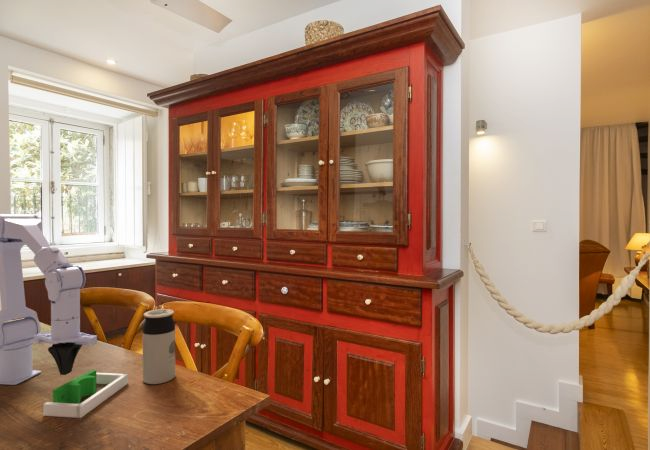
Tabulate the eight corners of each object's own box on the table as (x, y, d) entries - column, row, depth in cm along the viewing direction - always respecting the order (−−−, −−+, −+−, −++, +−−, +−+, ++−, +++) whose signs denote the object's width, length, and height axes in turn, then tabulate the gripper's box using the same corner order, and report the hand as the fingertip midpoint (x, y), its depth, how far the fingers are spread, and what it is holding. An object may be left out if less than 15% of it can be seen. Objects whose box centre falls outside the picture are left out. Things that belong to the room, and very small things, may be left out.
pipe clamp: (66, 411, 84) (66, 391, 83) (52, 409, 84) (52, 389, 84) (105, 388, 95) (105, 370, 94) (92, 387, 95) (92, 369, 95)
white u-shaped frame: (43, 415, 81) (43, 404, 81) (96, 381, 98) (96, 372, 98) (80, 417, 81) (80, 406, 81) (127, 383, 97) (127, 374, 97)
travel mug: (135, 383, 97) (135, 315, 97) (156, 371, 105) (156, 307, 105) (162, 386, 96) (162, 317, 95) (181, 374, 103) (181, 309, 103)
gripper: (22, 320, 86) (23, 378, 86) (81, 323, 85) (81, 382, 85) (48, 312, 93) (48, 366, 93) (102, 315, 92) (102, 369, 92)
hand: (65, 373), depth 90 cm, fingers closed
